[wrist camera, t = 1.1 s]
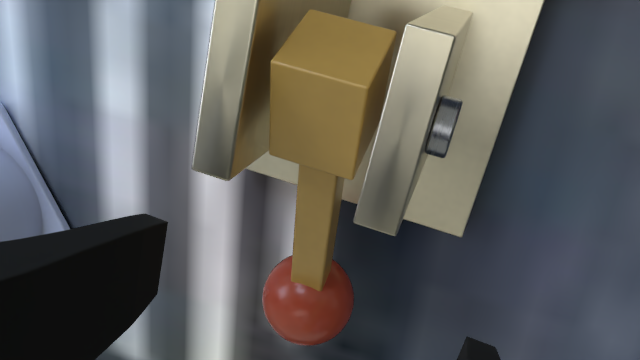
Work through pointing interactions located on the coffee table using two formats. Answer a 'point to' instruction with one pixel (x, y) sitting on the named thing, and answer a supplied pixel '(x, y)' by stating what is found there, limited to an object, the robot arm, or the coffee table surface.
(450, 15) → the tap bracket
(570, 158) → the coffee table surface
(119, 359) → the coffee table surface
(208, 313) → the coffee table surface
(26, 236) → the robot arm
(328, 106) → the lever
